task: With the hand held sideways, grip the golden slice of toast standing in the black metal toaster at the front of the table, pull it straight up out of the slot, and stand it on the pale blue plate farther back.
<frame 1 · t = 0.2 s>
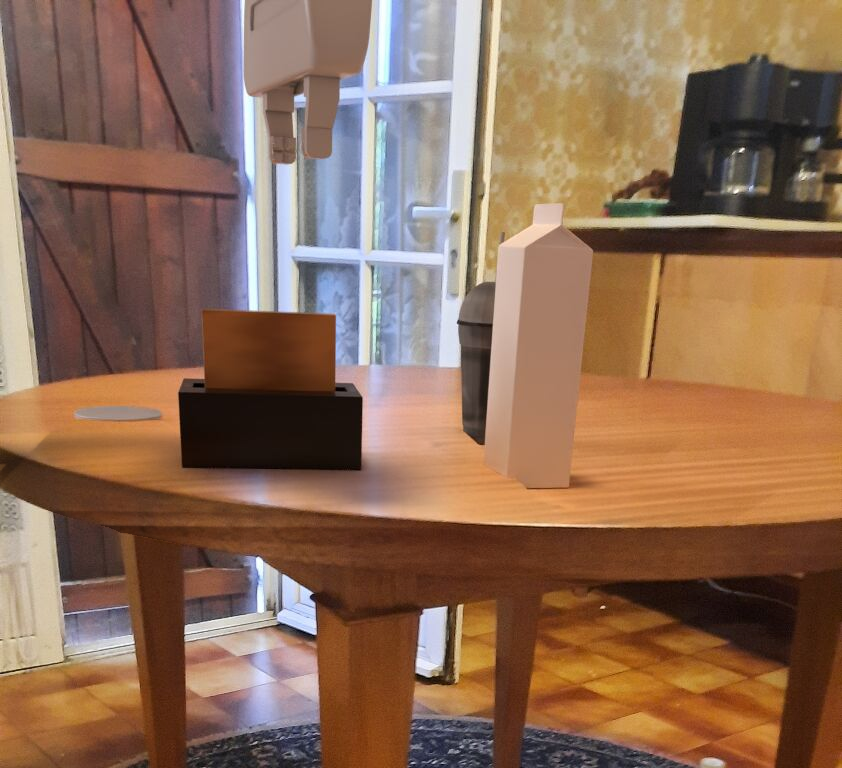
hand: (298, 161, 77), 24 cm above the table, tool pointing down, fingers open, 8 cm apart
milk: (524, 483, 95), on the table
beverage cup: (484, 442, 113), on the table
toaster: (271, 470, 94), on the table
toast: (271, 458, 94), point 1 cm above the table, touching toaster
plate: (119, 423, 113), on the table
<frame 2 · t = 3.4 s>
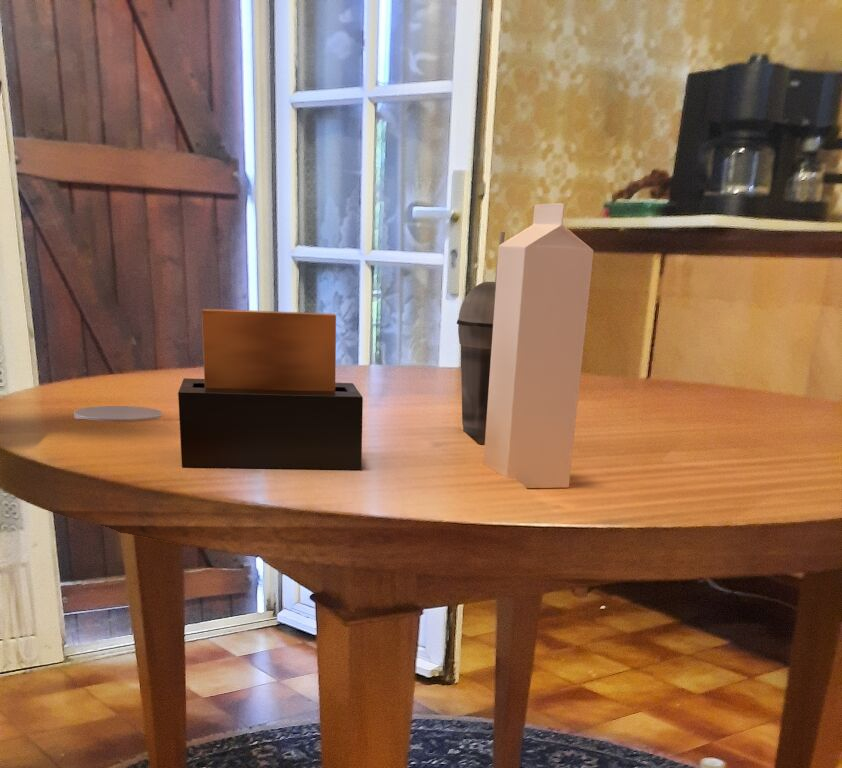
nothing on the table moved.
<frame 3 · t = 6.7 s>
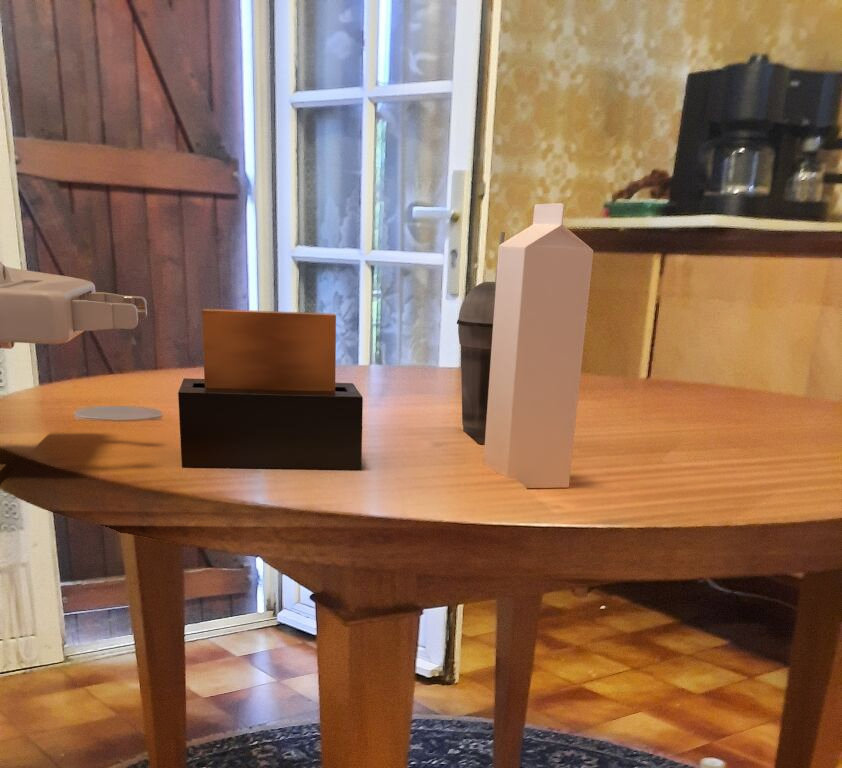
hand: (142, 312, 88), 13 cm above the table, tool horizontal, fingers open, 8 cm apart
nothing on the table moved.
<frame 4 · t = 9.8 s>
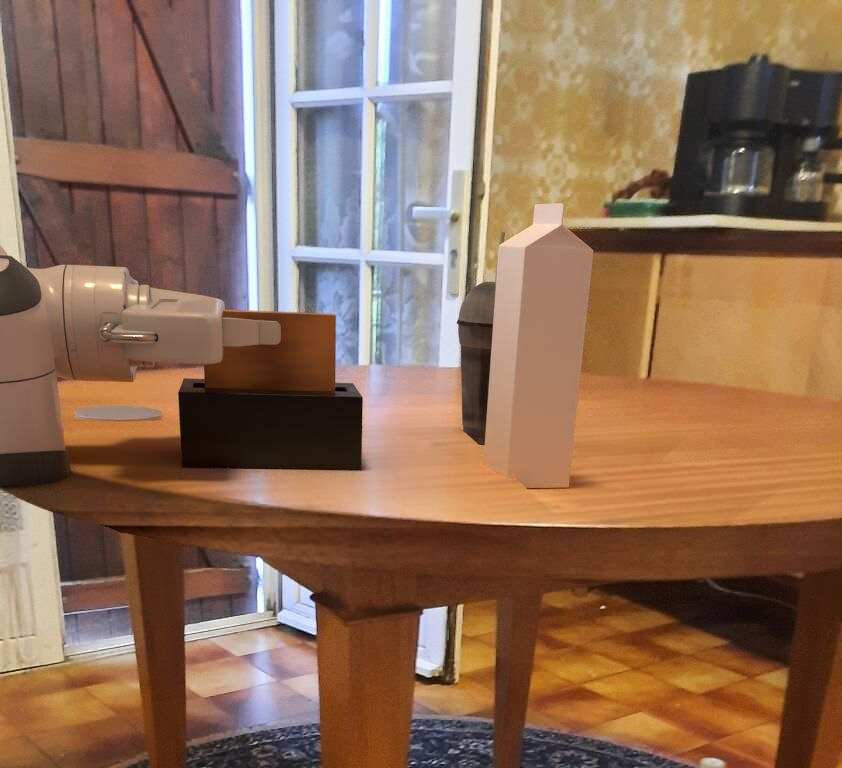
hand: (280, 330, 90), 12 cm above the table, tool horizontal, fingers closed on toast, 1 cm apart
toast: (271, 458, 94), point 1 cm above the table, touching gripper, toaster
everything else where it was.
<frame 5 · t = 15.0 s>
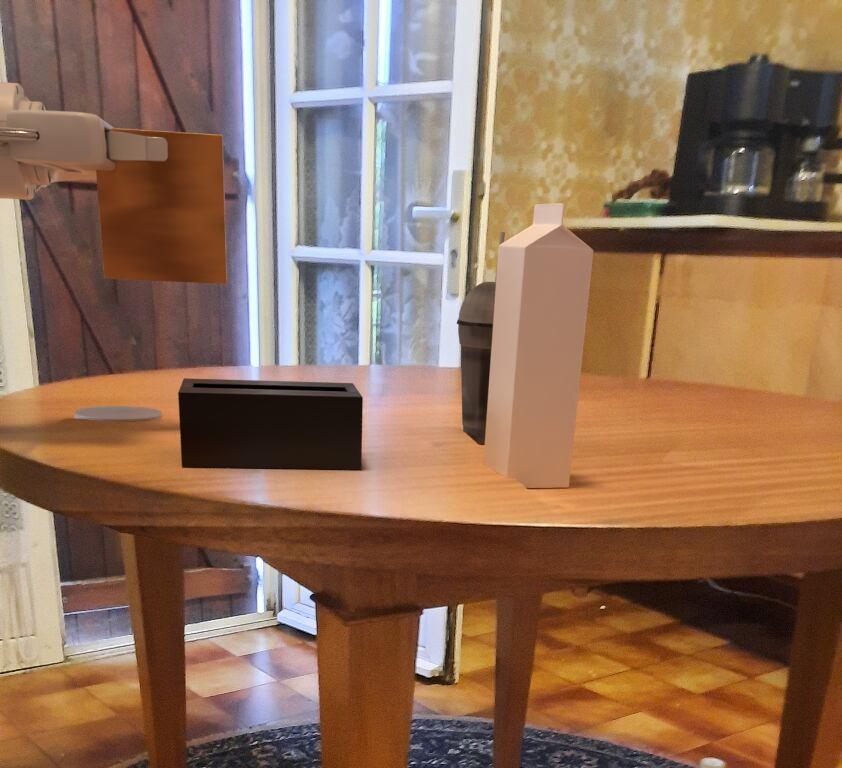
hand: (169, 151, 94), 25 cm above the table, tool horizontal, fingers closed on toast
toast: (166, 281, 99), point 14 cm above the table, touching gripper
everything else where it was.
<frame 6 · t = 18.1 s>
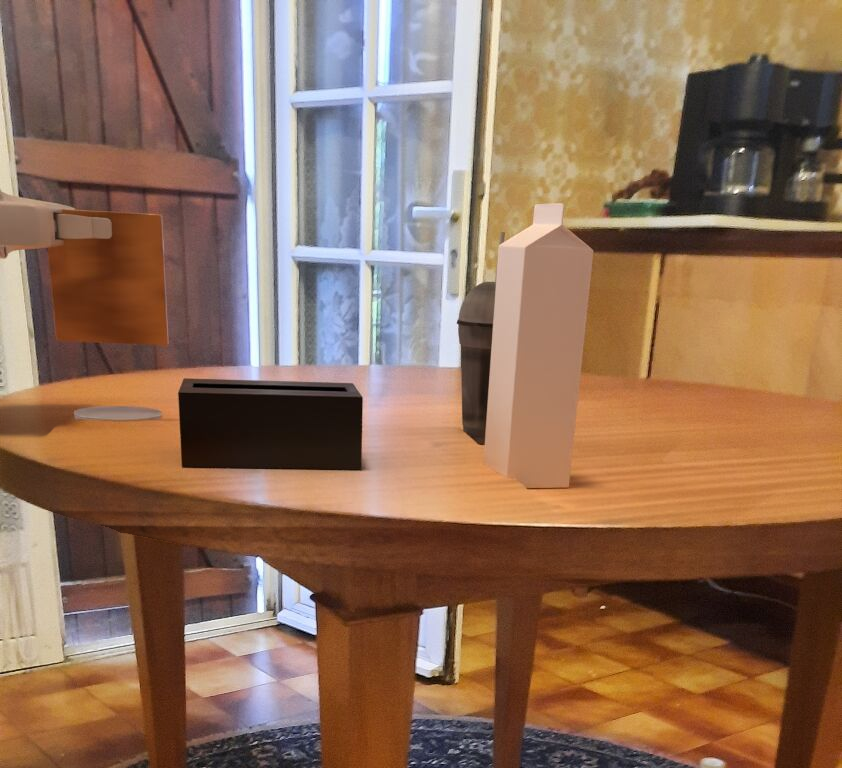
hand: (114, 228, 105), 19 cm above the table, tool horizontal, fingers closed on toast
toast: (113, 342, 109), point 8 cm above the table, touching gripper
everything else where it was.
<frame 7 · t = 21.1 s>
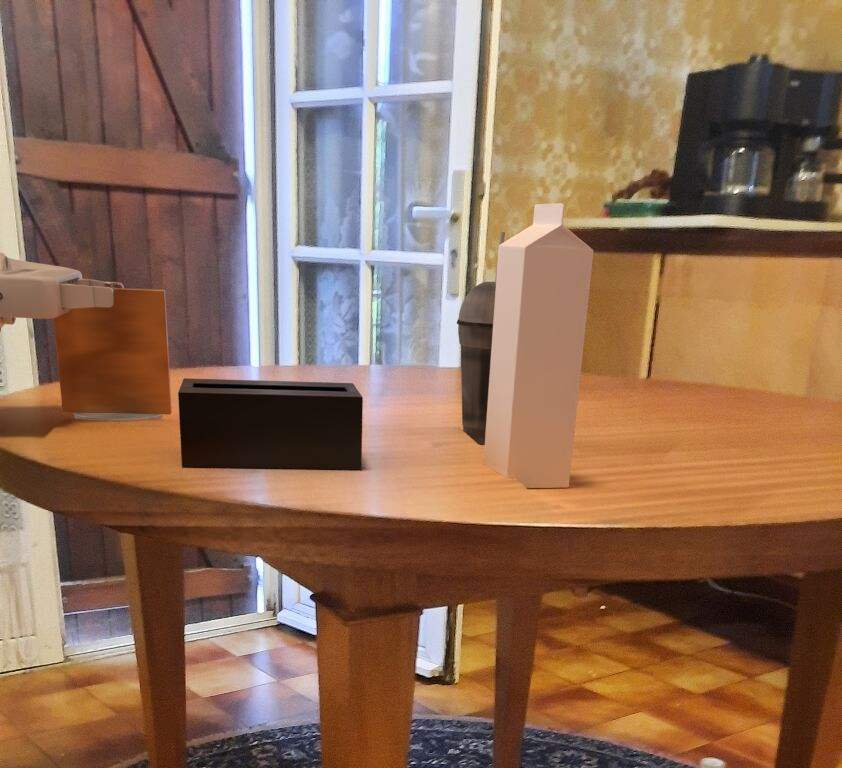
hand: (118, 294, 107), 13 cm above the table, tool horizontal, fingers open, 8 cm apart
toast: (117, 412, 112), point 1 cm above the table, touching plate
everything else where it was.
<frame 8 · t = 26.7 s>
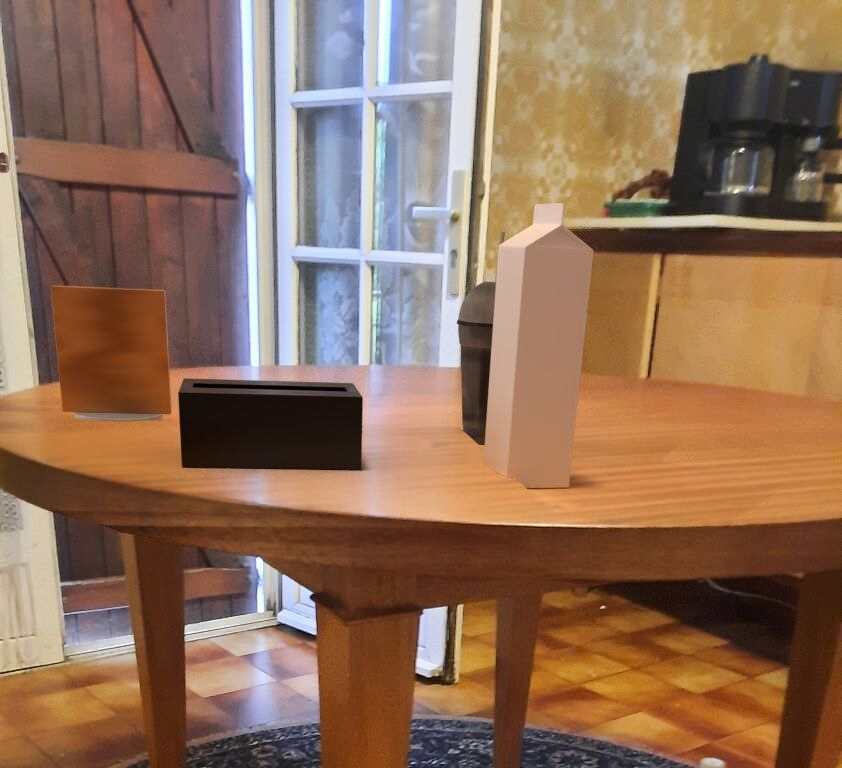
nothing on the table moved.
at the end: toast inside the target area on the plate (0.1 cm from its centre), point 1.2 cm above the plate's base; toast touching plate; the gripper is holding nothing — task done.
